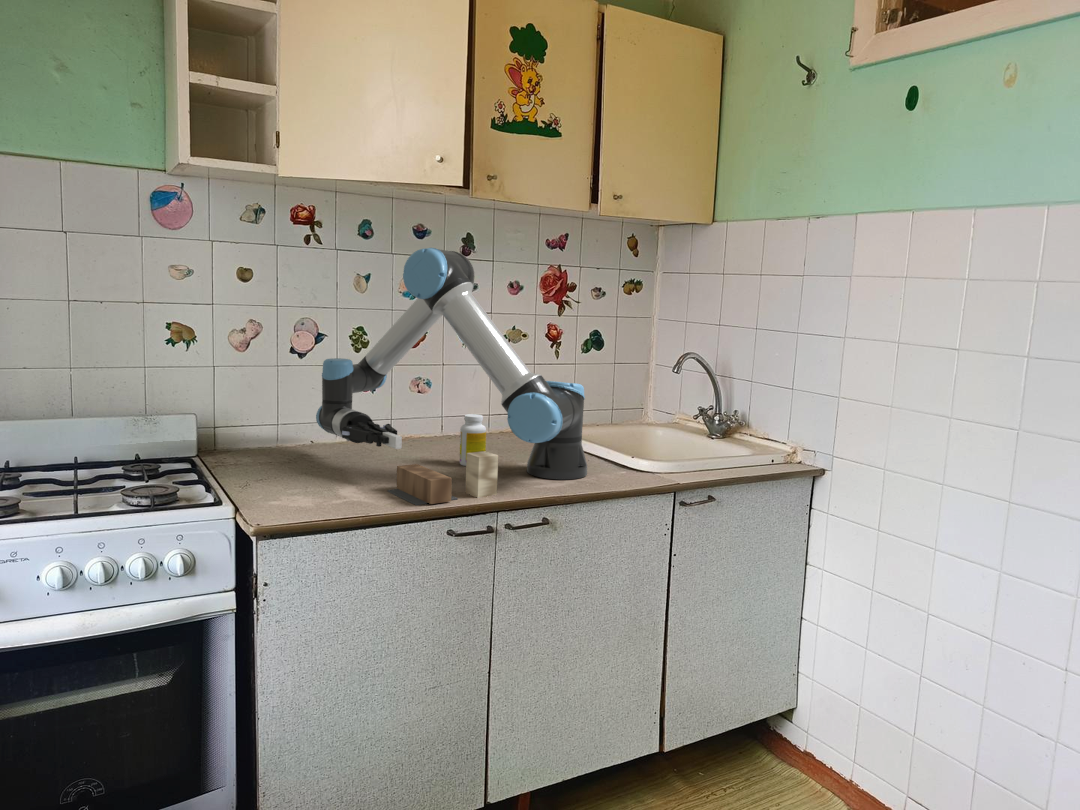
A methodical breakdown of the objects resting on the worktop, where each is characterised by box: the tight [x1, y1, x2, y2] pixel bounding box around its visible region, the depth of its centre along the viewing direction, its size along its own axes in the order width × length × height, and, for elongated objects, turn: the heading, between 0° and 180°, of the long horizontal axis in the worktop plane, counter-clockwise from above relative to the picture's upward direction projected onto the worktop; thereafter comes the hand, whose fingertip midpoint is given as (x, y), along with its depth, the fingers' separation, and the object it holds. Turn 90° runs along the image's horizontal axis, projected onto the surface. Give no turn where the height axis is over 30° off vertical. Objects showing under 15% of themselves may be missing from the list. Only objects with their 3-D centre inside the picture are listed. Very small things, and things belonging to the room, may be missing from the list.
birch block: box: [464, 450, 499, 499], centre depth 174 cm, size 5×5×9 cm
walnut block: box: [396, 463, 453, 505], centre depth 170 cm, size 5×5×15 cm
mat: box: [386, 488, 458, 506], centre depth 171 cm, size 10×13×1 cm
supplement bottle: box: [459, 413, 487, 467], centre depth 202 cm, size 7×7×13 cm
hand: (398, 442), depth 177 cm, fingers closed
